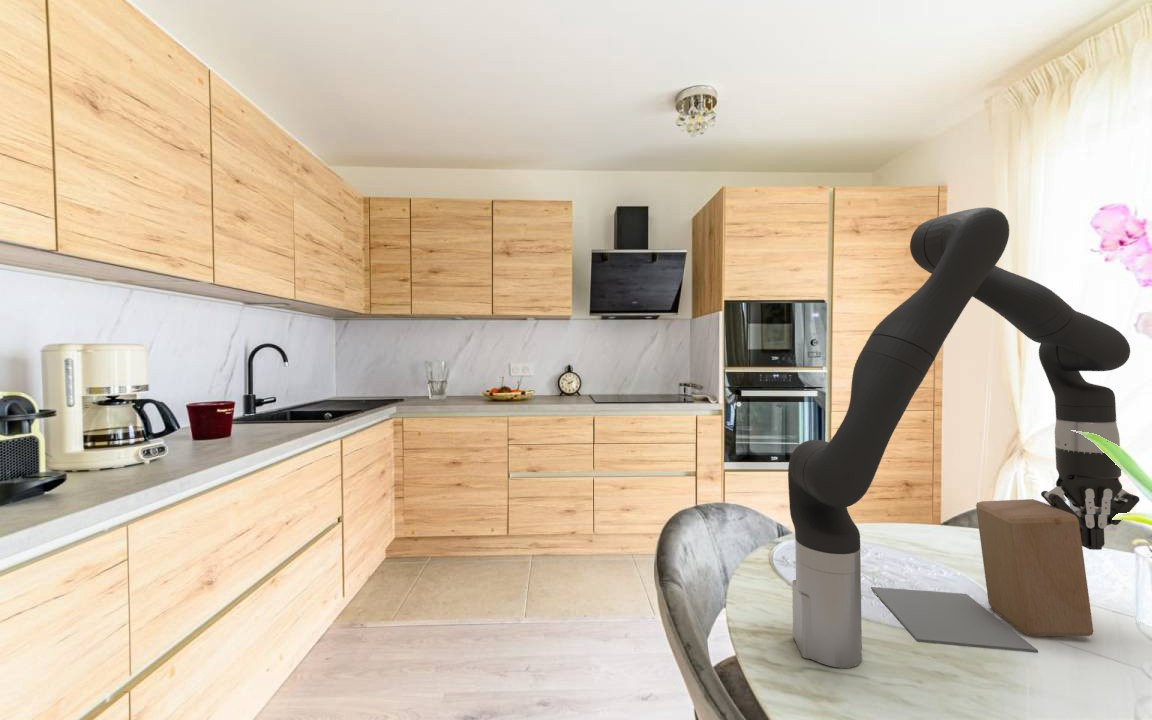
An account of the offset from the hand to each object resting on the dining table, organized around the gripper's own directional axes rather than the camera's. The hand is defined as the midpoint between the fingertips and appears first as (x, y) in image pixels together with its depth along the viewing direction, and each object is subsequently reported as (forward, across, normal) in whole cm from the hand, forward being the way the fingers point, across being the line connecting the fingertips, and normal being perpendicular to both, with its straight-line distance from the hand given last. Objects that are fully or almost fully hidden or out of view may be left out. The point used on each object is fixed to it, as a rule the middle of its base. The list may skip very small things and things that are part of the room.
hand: (1091, 547), depth 80 cm
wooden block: (+13, -8, 0) cm, 16 cm away
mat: (+13, -23, 0) cm, 26 cm away
